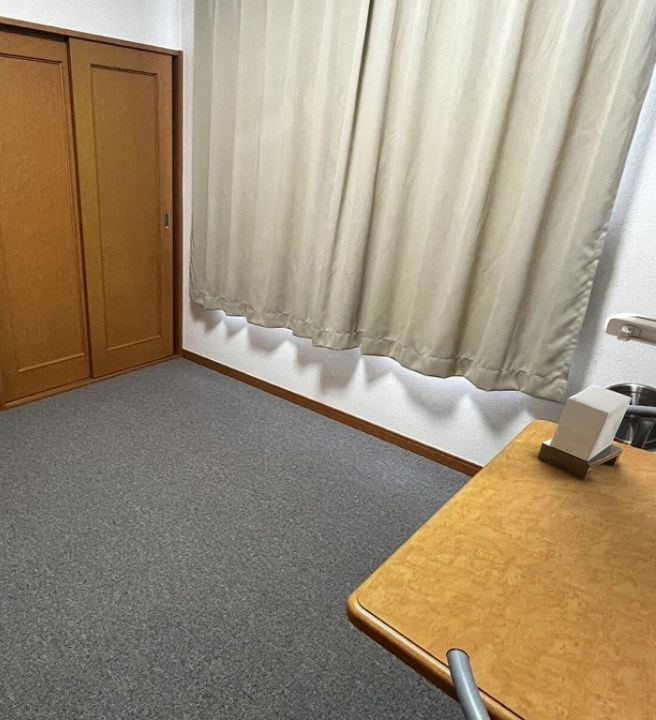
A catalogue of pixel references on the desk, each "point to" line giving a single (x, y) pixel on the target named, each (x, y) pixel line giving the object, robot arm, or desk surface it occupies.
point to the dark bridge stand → (578, 459)
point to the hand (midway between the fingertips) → (653, 344)
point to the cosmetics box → (590, 422)
